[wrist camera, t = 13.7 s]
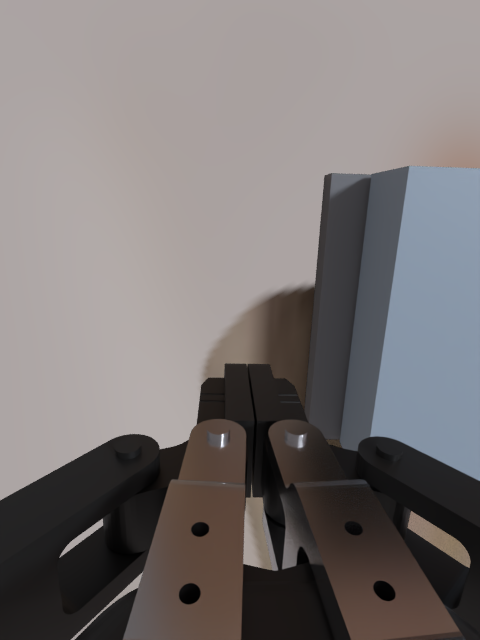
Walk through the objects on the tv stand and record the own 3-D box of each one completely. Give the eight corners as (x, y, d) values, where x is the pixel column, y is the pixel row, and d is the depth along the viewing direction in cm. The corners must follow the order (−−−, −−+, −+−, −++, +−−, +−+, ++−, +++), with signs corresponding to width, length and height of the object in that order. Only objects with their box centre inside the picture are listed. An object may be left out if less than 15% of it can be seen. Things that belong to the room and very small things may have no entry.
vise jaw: (454, 442, 25) (499, 488, 21) (339, 442, 24) (362, 488, 20) (511, 179, 20) (583, 172, 16) (371, 174, 20) (409, 166, 16)
